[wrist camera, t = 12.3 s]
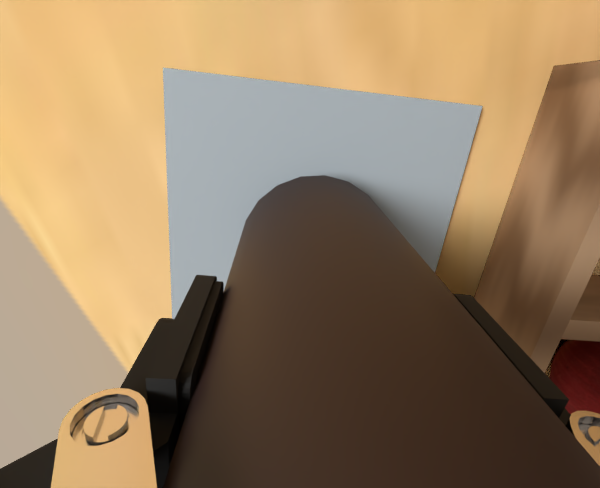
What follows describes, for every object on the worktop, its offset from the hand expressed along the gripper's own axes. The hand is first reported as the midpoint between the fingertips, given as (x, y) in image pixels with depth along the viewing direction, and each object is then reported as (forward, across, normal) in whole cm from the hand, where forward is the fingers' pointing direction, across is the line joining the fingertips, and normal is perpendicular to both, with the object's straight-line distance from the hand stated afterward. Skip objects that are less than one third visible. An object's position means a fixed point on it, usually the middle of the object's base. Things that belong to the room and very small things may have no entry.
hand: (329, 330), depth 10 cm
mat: (+8, 0, 0) cm, 8 cm away
